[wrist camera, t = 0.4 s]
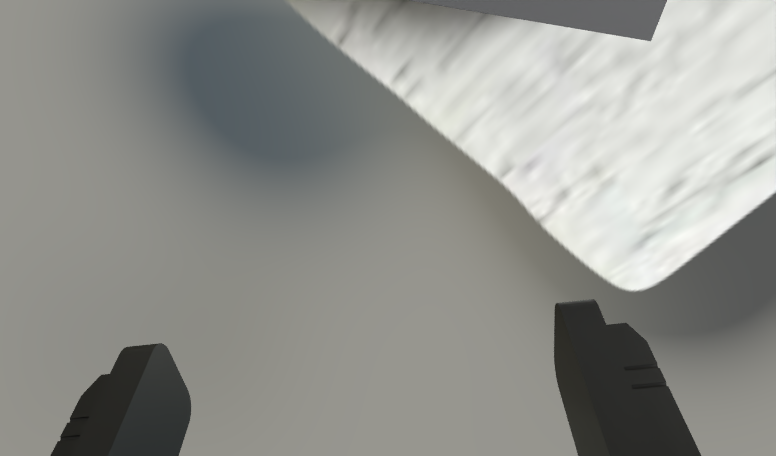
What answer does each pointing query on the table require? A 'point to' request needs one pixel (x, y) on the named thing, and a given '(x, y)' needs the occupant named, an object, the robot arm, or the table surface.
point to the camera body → (575, 13)
